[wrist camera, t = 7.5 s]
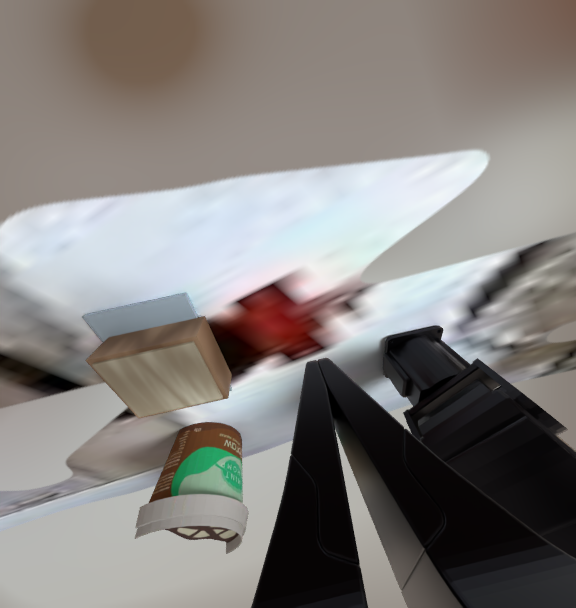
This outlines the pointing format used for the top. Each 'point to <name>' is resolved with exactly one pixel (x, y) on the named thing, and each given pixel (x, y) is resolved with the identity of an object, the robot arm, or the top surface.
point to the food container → (200, 488)
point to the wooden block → (164, 367)
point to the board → (141, 316)
